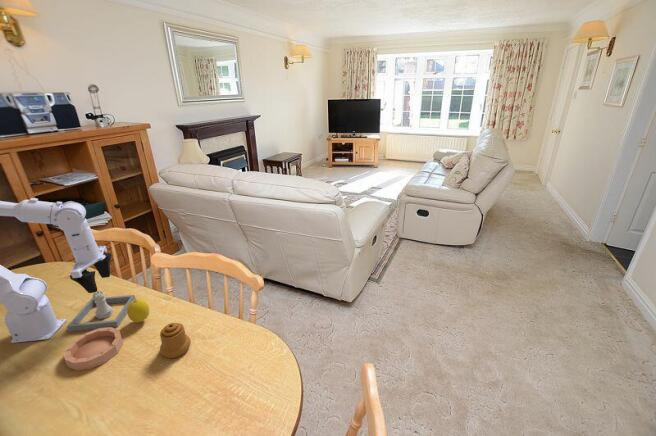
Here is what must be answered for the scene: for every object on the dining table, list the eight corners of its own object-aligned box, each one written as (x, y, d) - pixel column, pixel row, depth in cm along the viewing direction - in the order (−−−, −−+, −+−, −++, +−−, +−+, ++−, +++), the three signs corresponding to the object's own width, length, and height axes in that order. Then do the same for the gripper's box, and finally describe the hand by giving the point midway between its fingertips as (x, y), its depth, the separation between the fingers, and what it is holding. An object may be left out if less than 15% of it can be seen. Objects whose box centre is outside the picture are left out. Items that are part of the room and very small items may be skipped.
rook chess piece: (116, 311, 96) (110, 290, 93) (103, 321, 92) (95, 299, 89) (106, 308, 97) (99, 288, 94) (92, 317, 93) (85, 296, 90)
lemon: (155, 315, 94) (150, 294, 91) (143, 328, 89) (137, 306, 86) (139, 314, 95) (133, 293, 92) (126, 327, 90) (119, 305, 86)
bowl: (56, 372, 75) (53, 365, 74) (84, 337, 86) (81, 330, 85) (109, 366, 77) (106, 358, 76) (130, 332, 88) (127, 325, 87)
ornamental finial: (186, 358, 79) (156, 361, 78) (194, 337, 86) (166, 340, 85) (181, 334, 76) (150, 337, 75) (189, 315, 83) (160, 317, 82)
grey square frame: (68, 331, 87) (66, 326, 87) (93, 303, 99) (91, 298, 99) (117, 326, 90) (116, 321, 89) (135, 299, 101) (134, 294, 101)
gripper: (84, 255, 79) (101, 297, 84) (111, 231, 92) (124, 269, 98) (54, 259, 78) (74, 301, 84) (85, 234, 91) (101, 272, 97)
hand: (99, 284), depth 90 cm, fingers open, 7 cm apart
